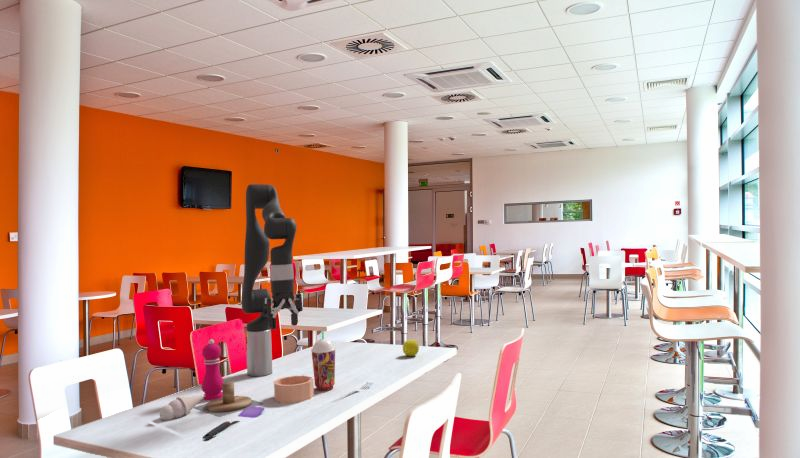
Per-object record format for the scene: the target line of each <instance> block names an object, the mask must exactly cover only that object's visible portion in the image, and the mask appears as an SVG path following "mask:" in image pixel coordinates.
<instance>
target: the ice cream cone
mask: <svg viewBox="0 0 800 458" xmlns="http://www.w3.org/2000/svg"><path fill="white" fill-rule="evenodd" d="M204 397H205V396H203V395H196V396H181V397H180V396H178V397H176V399H173V400H171V401H170V402H169V403H168V404H167V405H164V406H162V407H161V408H160V411H159V417H160V419H161V420H162V421H171V420H173V419H177V418H179V419H180V418H182V417H183V416H187V415H189V413H190V412H191V411H192V410H193V409H195V408H194V407H196V406H197V405H198V404H199V403H200V402H201V401H202V400H204Z"/></svg>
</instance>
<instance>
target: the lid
mask: <svg viewBox="0 0 800 458" xmlns="http://www.w3.org/2000/svg"><path fill="white" fill-rule="evenodd" d="M221 392H222V394H223V397H222V398H218V399H215V400H209V401H207V402H206V403H205V404H206V410H207V411H210V412H231V411H236V410H241V409H244V408H246V407H248V406H250V405H251V404H252V400H253V399H252V398H251V397H249V396H245V395H244V396H243V395H235V383H234V382H233V381H226V382H224V383H223V384H222V391H221Z"/></svg>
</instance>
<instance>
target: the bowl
mask: <svg viewBox="0 0 800 458" xmlns="http://www.w3.org/2000/svg"><path fill="white" fill-rule="evenodd" d="M314 390H315V389H314V379H313V378H312V376H307V375H293V376H292V375H290V376H284V377H280V378H277V379H276V380H274V381H273V396H274V400H275V401H274V402H278V403H281V404H284V403H286V404H295V403H302V402H305V401H309V400H311V399H312V398H314V397H315V395H314V393H315V391H314Z"/></svg>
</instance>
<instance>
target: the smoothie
mask: <svg viewBox="0 0 800 458" xmlns="http://www.w3.org/2000/svg"><path fill="white" fill-rule="evenodd" d="M324 334H325V333H324V330H321V338H320V339H318V340H317V341H315V342H314V344H313V346H312V349H311V357H312V358H311V359H312V368H313V369H312V370H313V377H314V379H313V381H314V386H315V387H316V390H317V391H320V392H321V391H322V392H325V391H326V392H327V391H331V390H332V389H334V386H335V381H336V380H335V379H336V378H335V376H336V375H335V374H336V347H335V346H334V343H333V342H332V341H331V340H329V339H327V338H325V335H324Z"/></svg>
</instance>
